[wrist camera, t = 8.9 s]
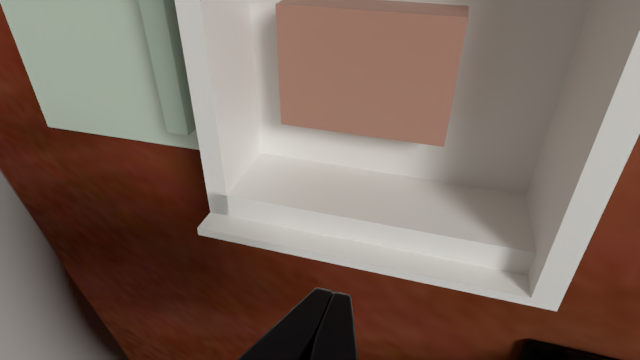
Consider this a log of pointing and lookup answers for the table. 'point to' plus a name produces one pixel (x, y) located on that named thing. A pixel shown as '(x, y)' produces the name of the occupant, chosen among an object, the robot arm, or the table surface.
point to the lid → (107, 67)
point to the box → (416, 132)
